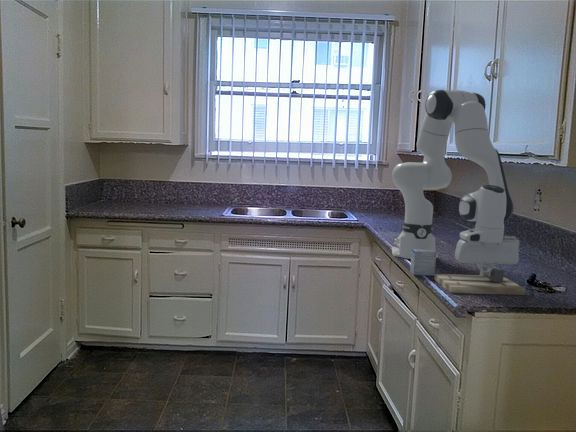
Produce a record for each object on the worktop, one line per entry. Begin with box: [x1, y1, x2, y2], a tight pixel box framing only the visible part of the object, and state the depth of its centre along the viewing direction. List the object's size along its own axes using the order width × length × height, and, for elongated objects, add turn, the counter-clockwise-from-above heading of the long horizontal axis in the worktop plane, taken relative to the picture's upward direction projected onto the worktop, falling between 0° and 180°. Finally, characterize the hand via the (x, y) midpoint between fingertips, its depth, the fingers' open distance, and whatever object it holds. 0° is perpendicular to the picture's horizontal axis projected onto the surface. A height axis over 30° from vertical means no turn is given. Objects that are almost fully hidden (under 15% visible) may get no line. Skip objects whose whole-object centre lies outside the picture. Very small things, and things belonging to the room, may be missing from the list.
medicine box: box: [409, 249, 438, 277], centre depth 184 cm, size 8×4×9 cm, turn 92°
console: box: [433, 273, 526, 296], centre depth 170 cm, size 16×24×2 cm, turn 92°
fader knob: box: [487, 266, 505, 282], centre depth 170 cm, size 5×3×4 cm, turn 2°
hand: (484, 276), depth 170 cm, fingers closed
